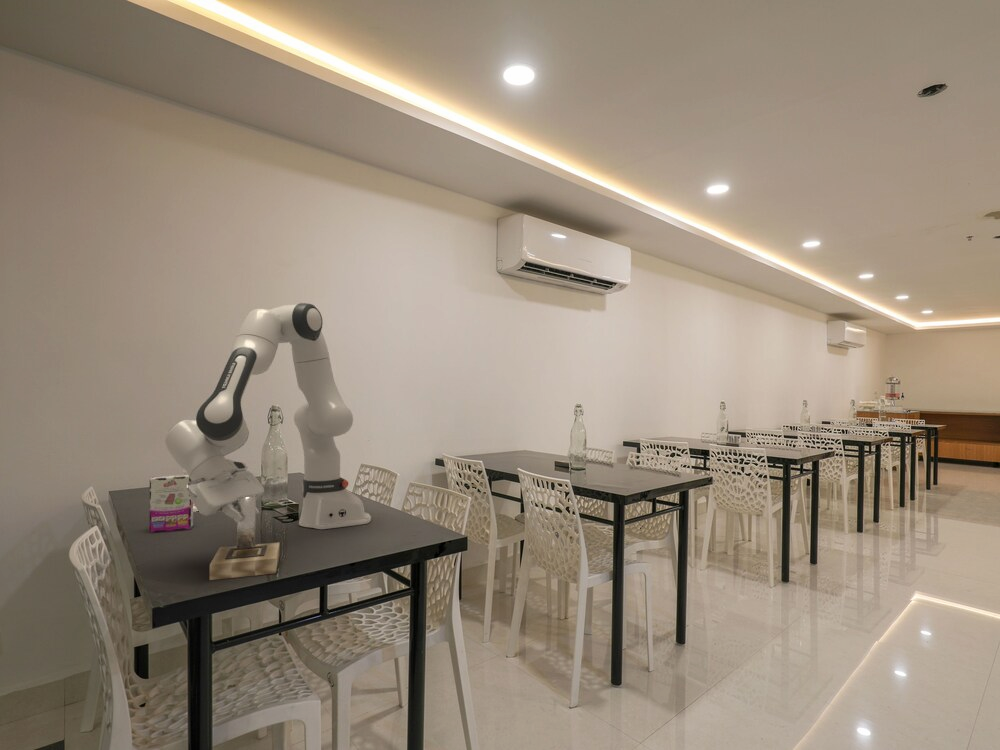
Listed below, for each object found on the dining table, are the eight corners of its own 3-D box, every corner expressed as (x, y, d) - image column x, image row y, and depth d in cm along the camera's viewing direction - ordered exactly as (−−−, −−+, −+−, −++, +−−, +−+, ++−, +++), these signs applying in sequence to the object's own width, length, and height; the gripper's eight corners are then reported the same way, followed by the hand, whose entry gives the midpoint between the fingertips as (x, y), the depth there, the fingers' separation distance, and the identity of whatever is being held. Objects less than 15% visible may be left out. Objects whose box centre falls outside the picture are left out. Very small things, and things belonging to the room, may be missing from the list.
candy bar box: (193, 525, 173) (194, 473, 173) (190, 529, 168) (191, 476, 169) (152, 529, 169) (153, 475, 169) (148, 533, 164) (149, 478, 165)
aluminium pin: (255, 543, 136) (256, 494, 136) (254, 547, 132) (255, 497, 133) (238, 544, 135) (238, 495, 135) (235, 549, 131) (236, 498, 131)
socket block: (279, 555, 142) (279, 541, 143) (275, 573, 129) (276, 557, 129) (219, 561, 138) (219, 546, 138) (209, 580, 125) (209, 563, 125)
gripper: (191, 473, 125) (228, 518, 123) (248, 462, 145) (281, 500, 143) (173, 492, 126) (210, 537, 124) (233, 478, 146) (265, 517, 144)
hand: (248, 517), depth 134 cm, fingers closed on aluminium pin, 4 cm apart
